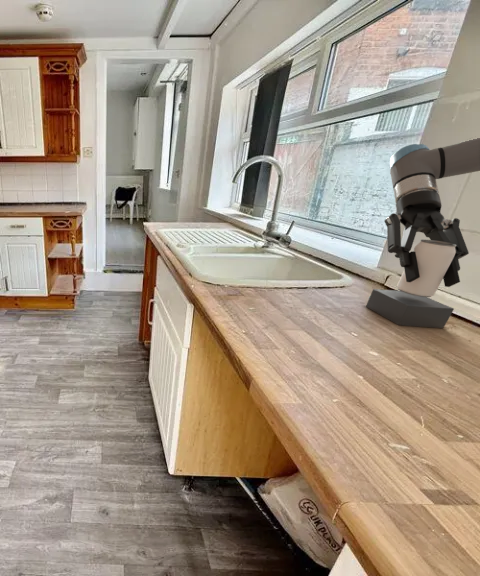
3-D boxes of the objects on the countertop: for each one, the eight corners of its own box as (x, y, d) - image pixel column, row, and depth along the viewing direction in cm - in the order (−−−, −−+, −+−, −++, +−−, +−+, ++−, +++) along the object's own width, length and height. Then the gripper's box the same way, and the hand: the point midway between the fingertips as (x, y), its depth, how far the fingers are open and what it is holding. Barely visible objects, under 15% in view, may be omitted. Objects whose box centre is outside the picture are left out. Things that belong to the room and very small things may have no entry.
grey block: (404, 309, 79) (413, 291, 77) (443, 328, 70) (454, 308, 68) (365, 306, 79) (373, 288, 78) (398, 325, 70) (408, 305, 68)
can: (428, 291, 73) (453, 242, 69) (437, 300, 68) (465, 247, 64) (392, 284, 76) (414, 237, 72) (399, 292, 71) (423, 242, 67)
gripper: (451, 212, 77) (471, 295, 69) (361, 205, 82) (370, 282, 73) (480, 191, 70) (506, 280, 62) (380, 185, 75) (392, 268, 66)
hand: (432, 281), depth 68 cm, fingers closed on can, 6 cm apart
